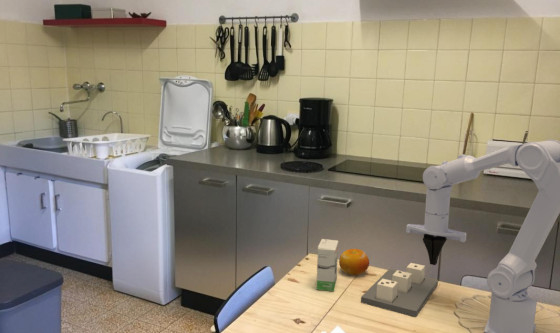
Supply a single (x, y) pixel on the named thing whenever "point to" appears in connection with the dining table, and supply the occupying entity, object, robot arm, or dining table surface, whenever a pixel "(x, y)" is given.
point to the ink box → (327, 264)
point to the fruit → (354, 261)
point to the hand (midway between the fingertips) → (433, 263)
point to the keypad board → (402, 296)
